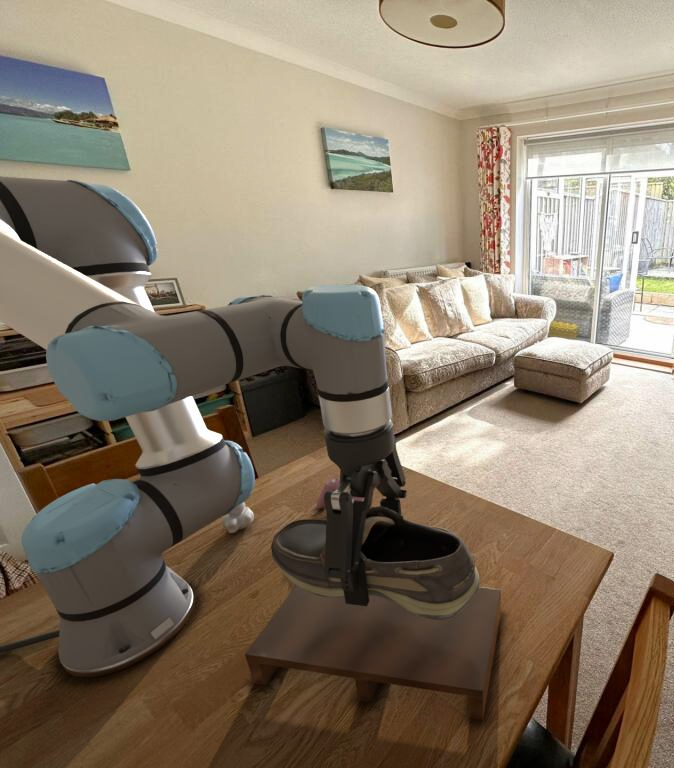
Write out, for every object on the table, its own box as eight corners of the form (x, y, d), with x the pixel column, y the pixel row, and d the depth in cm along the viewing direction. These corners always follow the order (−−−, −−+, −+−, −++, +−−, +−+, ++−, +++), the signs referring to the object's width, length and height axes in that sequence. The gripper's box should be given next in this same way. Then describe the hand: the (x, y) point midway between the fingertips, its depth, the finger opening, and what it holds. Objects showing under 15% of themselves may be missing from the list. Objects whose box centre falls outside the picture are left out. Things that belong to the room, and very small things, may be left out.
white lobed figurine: (261, 516, 86) (253, 485, 83) (247, 538, 80) (238, 505, 77) (233, 518, 85) (224, 487, 82) (217, 541, 79) (207, 508, 76)
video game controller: (365, 512, 90) (370, 481, 91) (353, 516, 86) (359, 483, 86) (327, 504, 92) (331, 474, 93) (313, 509, 88) (318, 476, 88)
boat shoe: (310, 530, 63) (298, 472, 59) (491, 562, 58) (491, 501, 54) (256, 587, 53) (237, 522, 49) (468, 631, 48) (467, 563, 44)
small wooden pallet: (254, 683, 55) (244, 654, 53) (316, 591, 69) (310, 565, 67) (482, 720, 52) (482, 690, 50) (500, 616, 66) (501, 589, 64)
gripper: (371, 383, 58) (386, 508, 66) (258, 477, 37) (300, 644, 45) (422, 387, 57) (430, 512, 65) (337, 484, 36) (364, 653, 44)
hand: (377, 566), depth 55 cm, fingers closed on boat shoe, 11 cm apart
